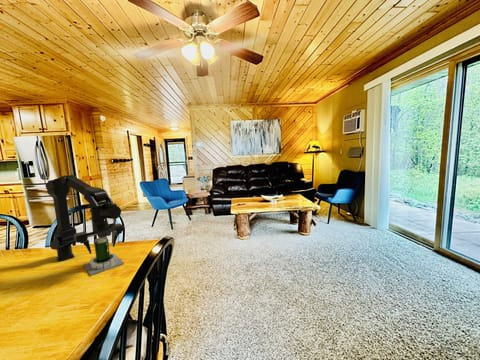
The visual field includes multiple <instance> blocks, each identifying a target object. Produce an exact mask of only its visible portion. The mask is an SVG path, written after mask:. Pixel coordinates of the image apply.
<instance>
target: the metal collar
mask: <svg viewBox="0 0 480 360" xmlns="http://www.w3.org/2000/svg"><path fill="white" fill-rule="evenodd" d="M117 257H118V255H117V254H116V253H115V252H114V253H113V252H112V253H111V252H110V260H108V261H105V262H101V263H96V256H94V257H93V258H91V259H90V260H89V261H88V263H89V264H90V268H91V269H94V270H98V269H103V268H107V267H110V266H112V265H113V264H115V263H116V262H117Z"/></svg>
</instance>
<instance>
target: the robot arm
mask: <svg viewBox="0 0 480 360" xmlns="http://www.w3.org/2000/svg"><path fill="white" fill-rule="evenodd" d="M45 189H46V191H47V194H48V195H49V196H50V197H51V198H52V199H53V205H54V212H55V213H54V214H55V220H56V227H57V228H56V229H55V230H54V234H53V240H52V241H51V243H50V244H49V247H50V249H51V250H54V251H56V255H57V256H56V257H55V258H56V261H57V262H58V263H59V262H62V261H65V260H69V259H73V258H75V254H74V253H73V248H72V247H73V246H72V245H74V244H79V243H80V244H83V245H84V246H85V248H86V249H87V251H88V253H89V254H90V255H91V254H92V248H91V245H90V240H89V238H90V237H94V236H97V238H103V237H110V236H111V244H112V248H115V245H116V244H117V240H118V236H119V235H120V234H122V233H123V232H125V231H126V228H125V225H123V224H122V223H115V222H113V223H109V222H108V219H111V220H117V219H118V218H120V217H121V215H122V209H121V208H120V206H118V205H117V203H116V202H113V199H112V198H111V197H110V195H109V194H108V192H107V190H106V189H104V188H101V187H97V186H92V185H90V184H88V183H87V182H85V181H83V180H81V179H80V178H78V177H77V176H76V174H67V175H61V176H60V177H58V178H54V179H50V180H47V182H46V183H45ZM71 189H72V190H74V191H76V192H77V193H79V194H80V195H82V196H83V199H84V200H85V201H86V202H87V203H88V205H87V206H86V208H87V209H88V208H89V209H90V217H91V227H92V231H90V232H86V231H85V230H84V231H80V232H77V228H76V227H73V226H72V225H71V221H70V220H71V219H70V213H69V212H70V211H69V204H68V199H67V198H68V195H69V193H70V192H71ZM104 219H105V221H104Z"/></svg>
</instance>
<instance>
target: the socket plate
mask: <svg viewBox="0 0 480 360" xmlns="http://www.w3.org/2000/svg"><path fill="white" fill-rule="evenodd" d="M124 265H125V262H123V261H122V259H120V258H119V257H118V256H117V262H116V263H115V264H113V265H112V266H110V267H107V268H103V269H98V270H94V269H91V268H90V264H89V262H87V263H84V264H83V266H84V268H85V269H86V272H88V274H89V276H90V277H92V276H95V275H97V274H100V273H102V272H105V271H109V270H111V269H114V268H117V267H120V266H124Z"/></svg>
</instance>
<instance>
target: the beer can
mask: <svg viewBox="0 0 480 360" xmlns="http://www.w3.org/2000/svg"><path fill="white" fill-rule="evenodd" d="M109 243H110V242H109V239H108V236H105V237H103V238H99V237H97V238H96V239H94V252H95V253H94V254H95V257H96V263H101V262H105V261H108V260H110V253H111V252H110V244H109Z"/></svg>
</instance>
